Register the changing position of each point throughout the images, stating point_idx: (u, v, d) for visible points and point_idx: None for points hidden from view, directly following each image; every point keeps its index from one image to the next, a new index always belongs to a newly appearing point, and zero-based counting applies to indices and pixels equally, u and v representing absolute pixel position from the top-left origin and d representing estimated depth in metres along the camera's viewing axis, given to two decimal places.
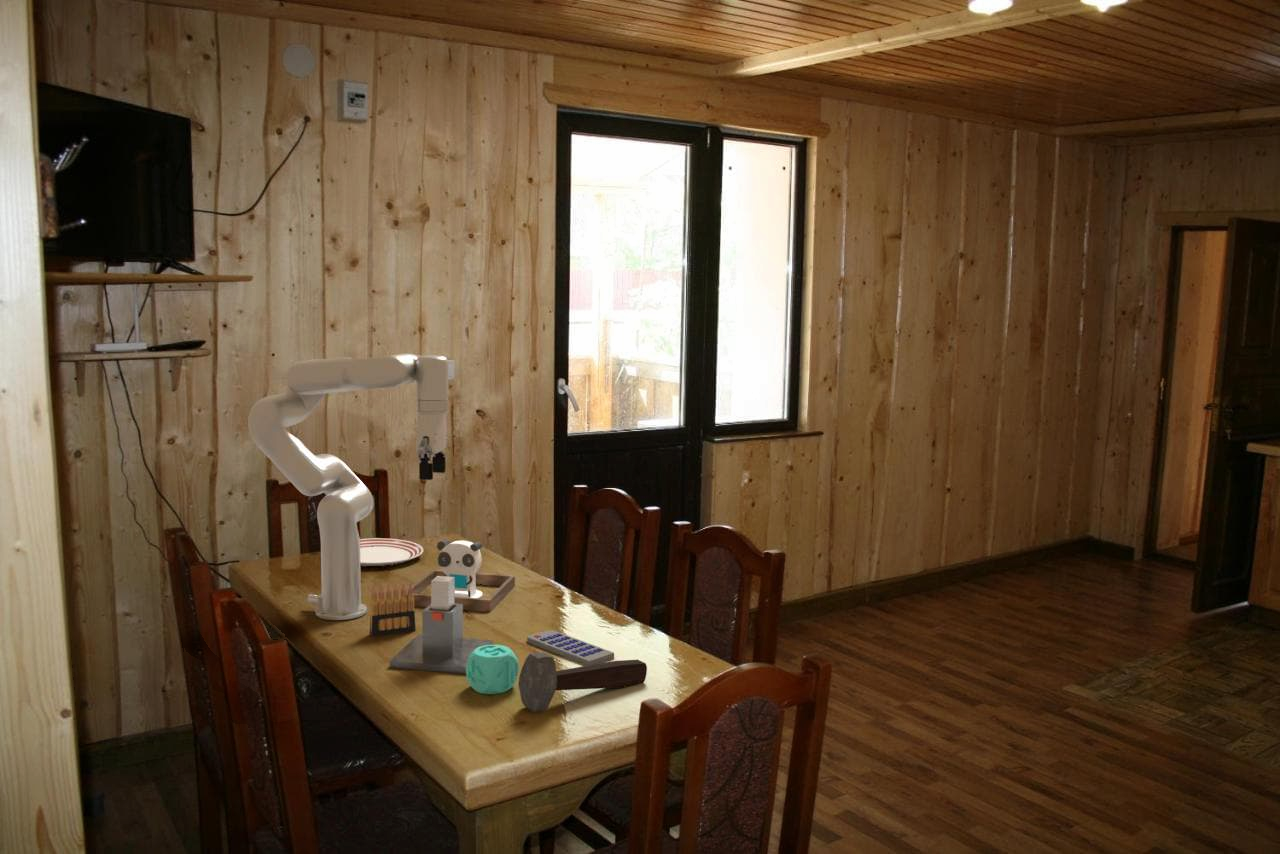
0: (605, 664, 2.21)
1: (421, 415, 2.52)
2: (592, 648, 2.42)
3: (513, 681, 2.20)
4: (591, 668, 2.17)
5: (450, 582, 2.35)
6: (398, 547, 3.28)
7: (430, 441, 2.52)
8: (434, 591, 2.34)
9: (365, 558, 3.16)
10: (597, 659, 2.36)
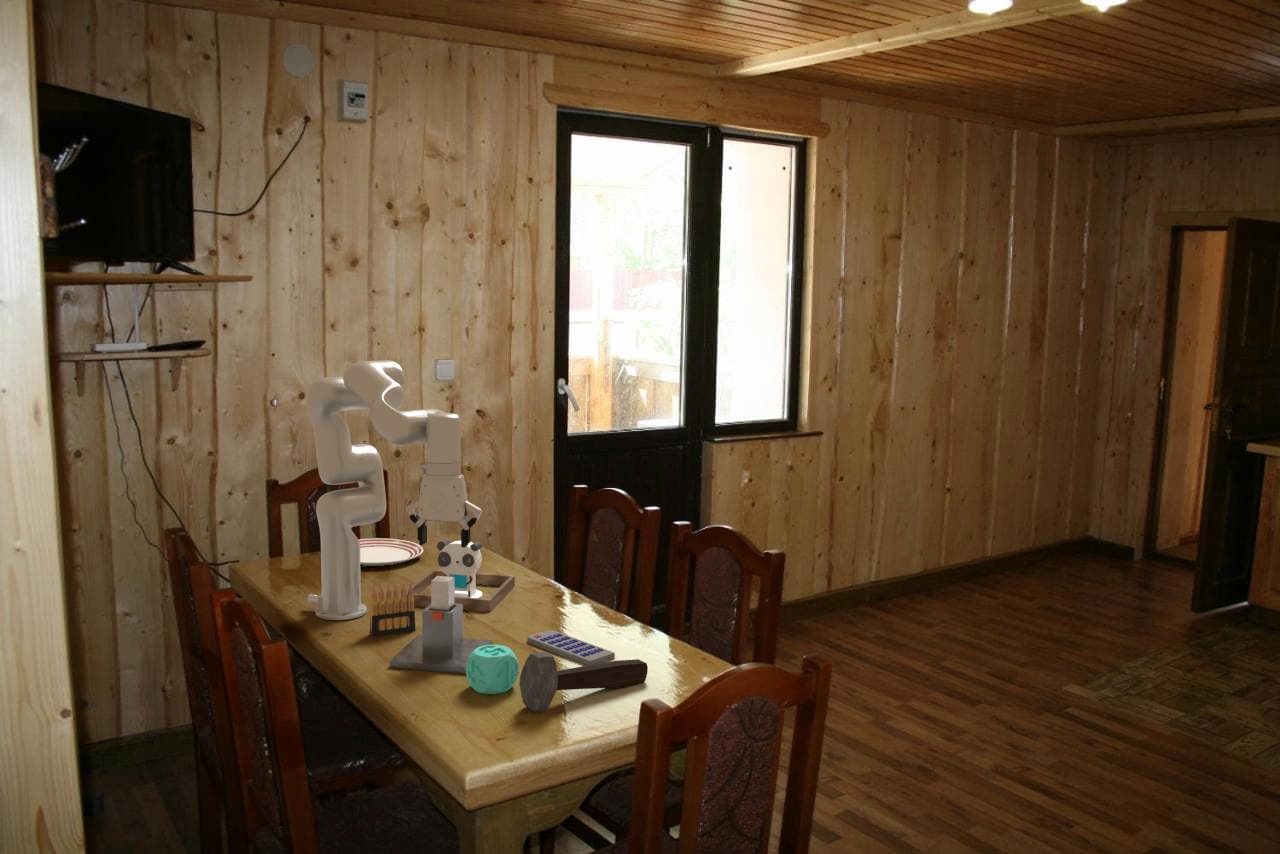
0: (606, 664, 2.21)
1: (461, 478, 2.30)
2: (592, 648, 2.42)
3: (513, 681, 2.20)
4: (592, 668, 2.18)
5: (450, 582, 2.35)
6: (398, 547, 3.28)
7: None
8: (434, 591, 2.34)
9: (365, 558, 3.16)
10: (598, 659, 2.36)
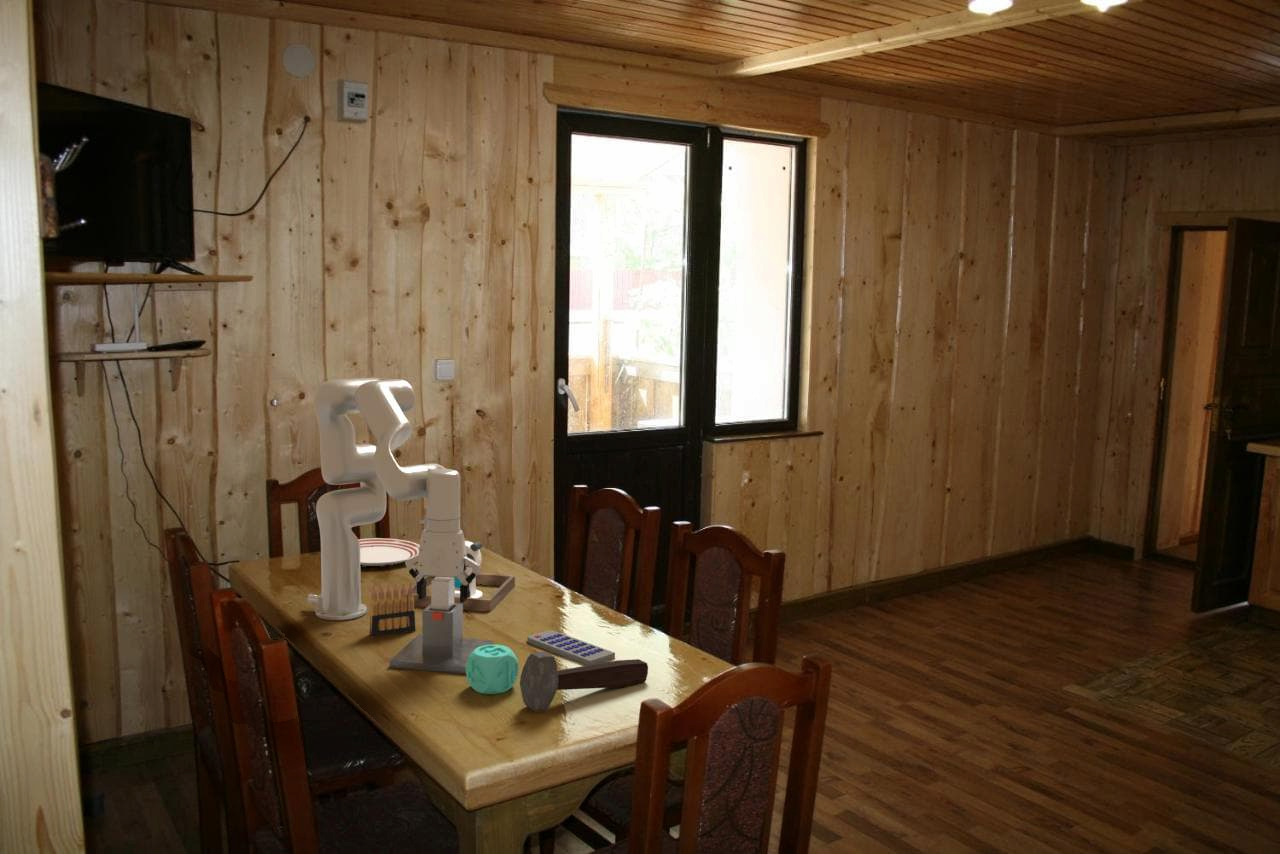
0: (606, 664, 2.21)
1: (460, 534, 2.32)
2: (593, 648, 2.42)
3: (513, 681, 2.20)
4: (592, 668, 2.18)
5: (450, 582, 2.35)
6: (398, 547, 3.28)
7: None
8: (434, 591, 2.34)
9: (365, 558, 3.16)
10: (598, 659, 2.36)
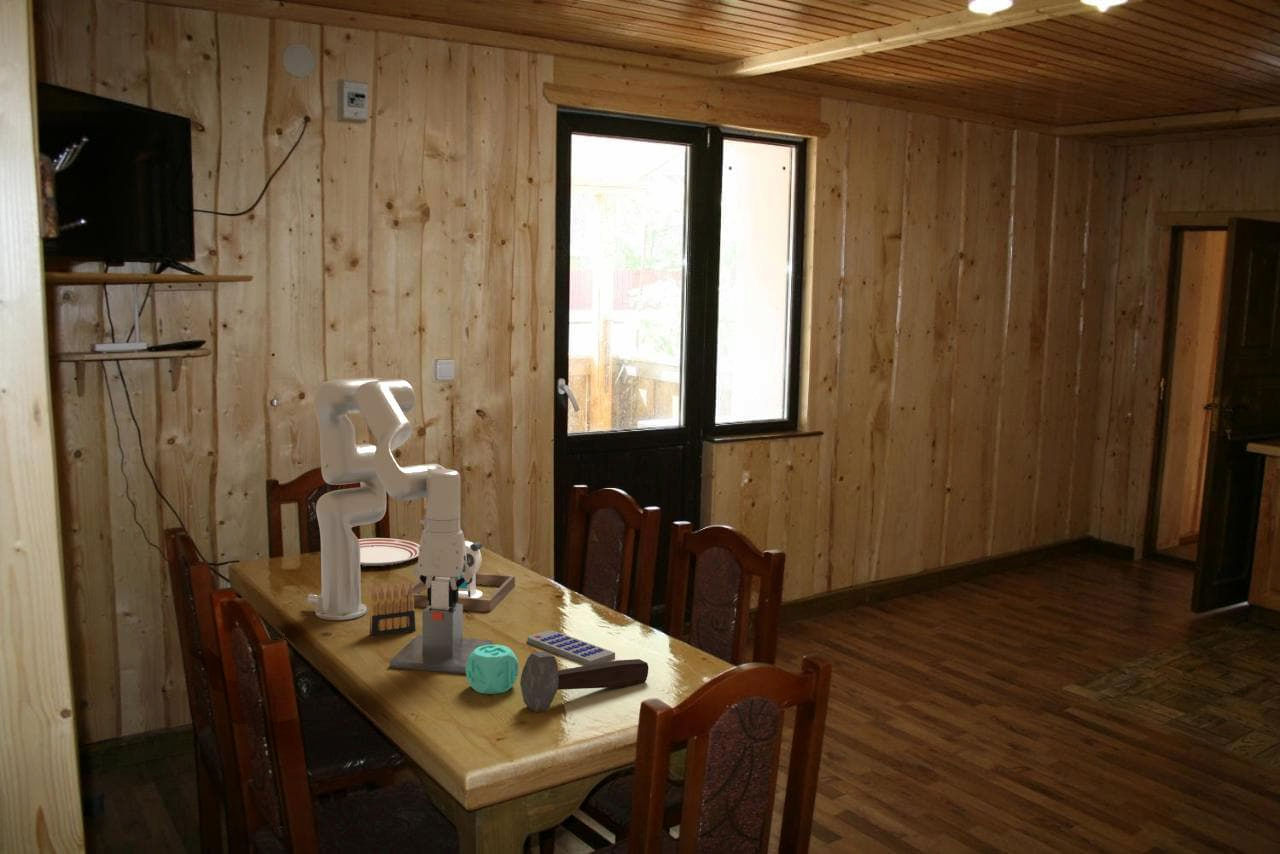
0: (607, 663, 2.21)
1: (460, 535, 2.32)
2: (593, 648, 2.42)
3: (513, 681, 2.20)
4: (593, 667, 2.18)
5: (450, 582, 2.35)
6: (398, 547, 3.28)
7: (466, 559, 2.35)
8: (434, 591, 2.34)
9: (365, 558, 3.16)
10: (598, 659, 2.36)
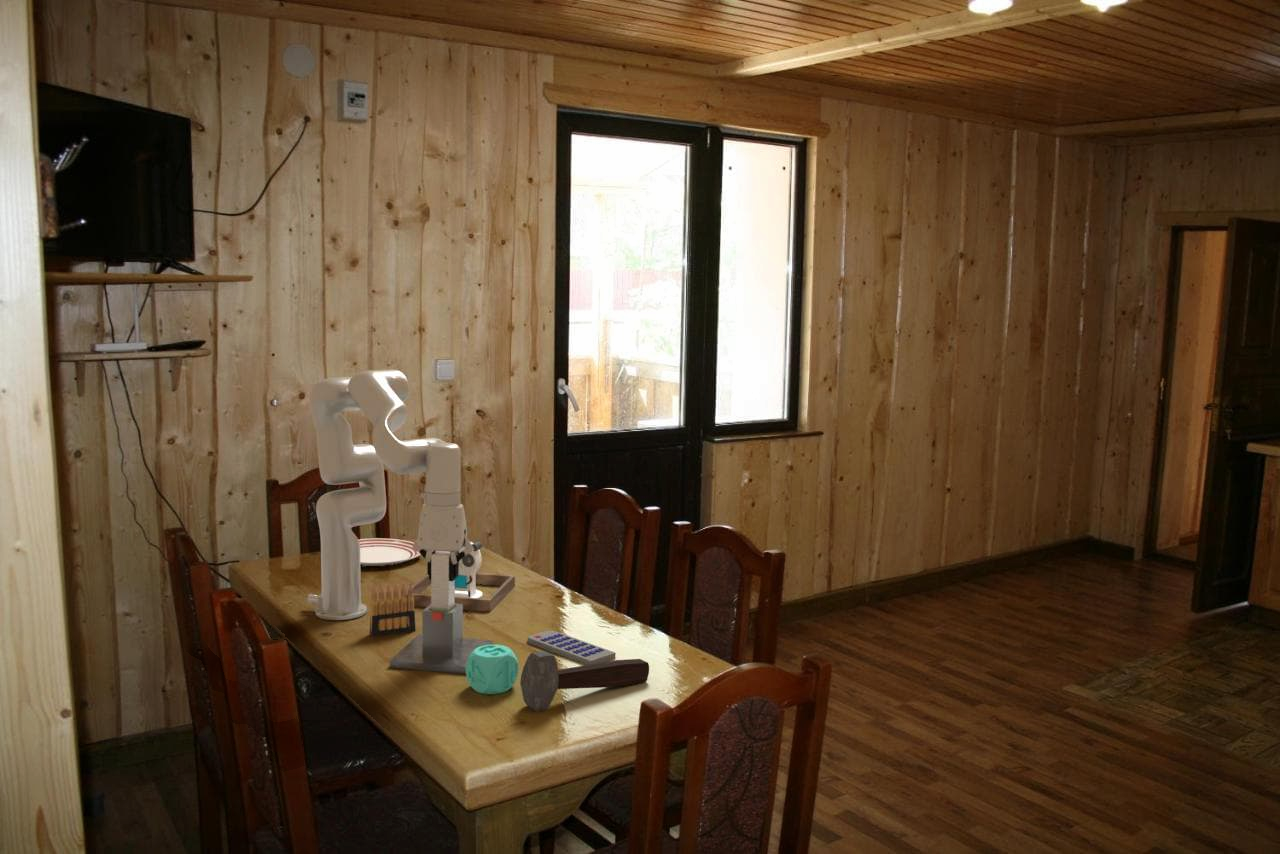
0: (607, 663, 2.21)
1: (460, 508, 2.31)
2: (593, 648, 2.42)
3: (513, 681, 2.20)
4: (593, 667, 2.18)
5: (450, 556, 2.34)
6: (398, 547, 3.28)
7: (466, 533, 2.35)
8: (434, 565, 2.33)
9: (365, 558, 3.16)
10: (599, 659, 2.36)
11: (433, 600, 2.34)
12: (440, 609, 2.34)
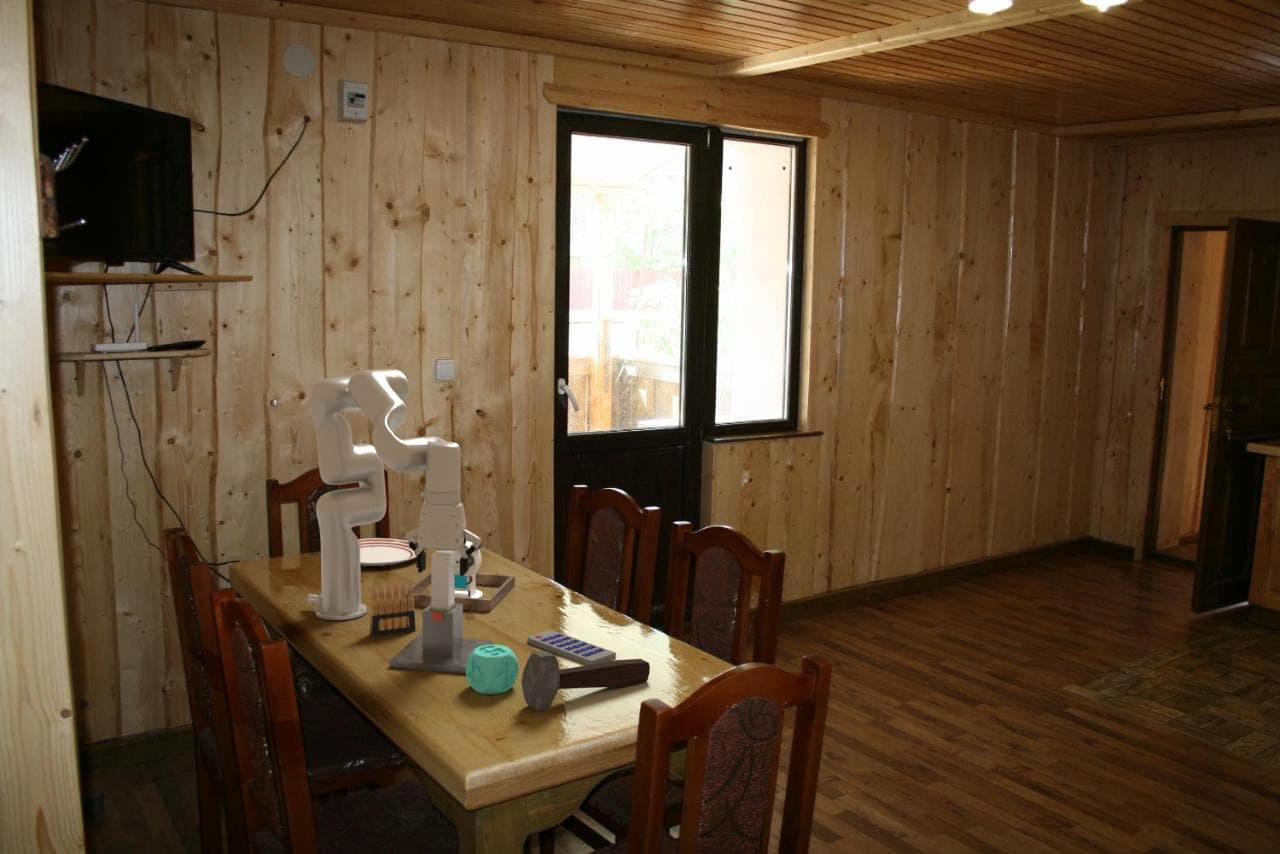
0: (608, 663, 2.21)
1: (460, 507, 2.31)
2: (593, 648, 2.42)
3: (513, 681, 2.20)
4: (594, 667, 2.18)
5: (450, 556, 2.34)
6: (398, 547, 3.28)
7: None
8: (434, 565, 2.33)
9: (365, 558, 3.16)
10: (599, 659, 2.36)
11: (433, 600, 2.34)
12: (440, 609, 2.34)
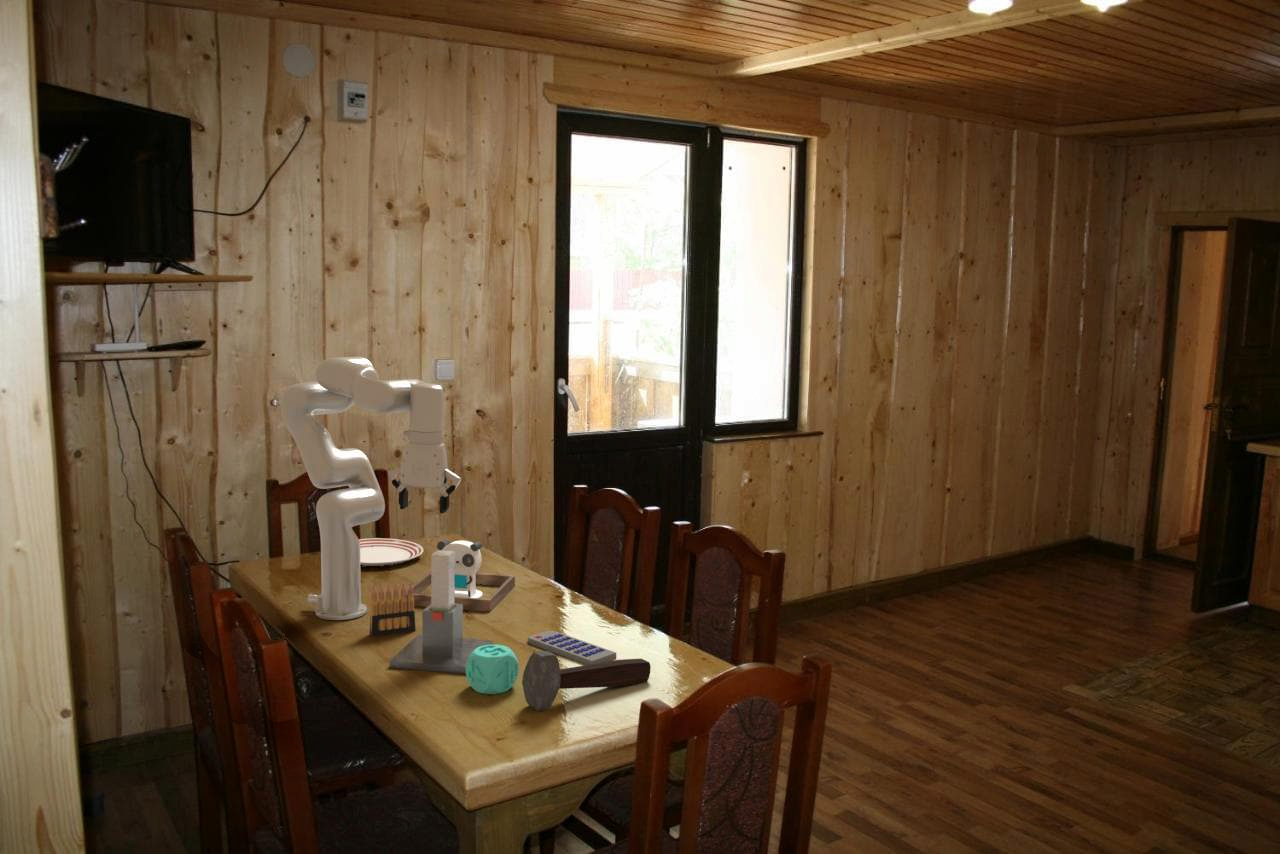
0: (609, 663, 2.22)
1: (442, 447, 2.40)
2: (594, 648, 2.42)
3: (513, 681, 2.20)
4: (595, 667, 2.18)
5: (450, 556, 2.34)
6: (398, 547, 3.28)
7: None
8: (434, 565, 2.33)
9: (365, 558, 3.16)
10: (600, 659, 2.36)
11: (433, 600, 2.34)
12: (440, 609, 2.34)
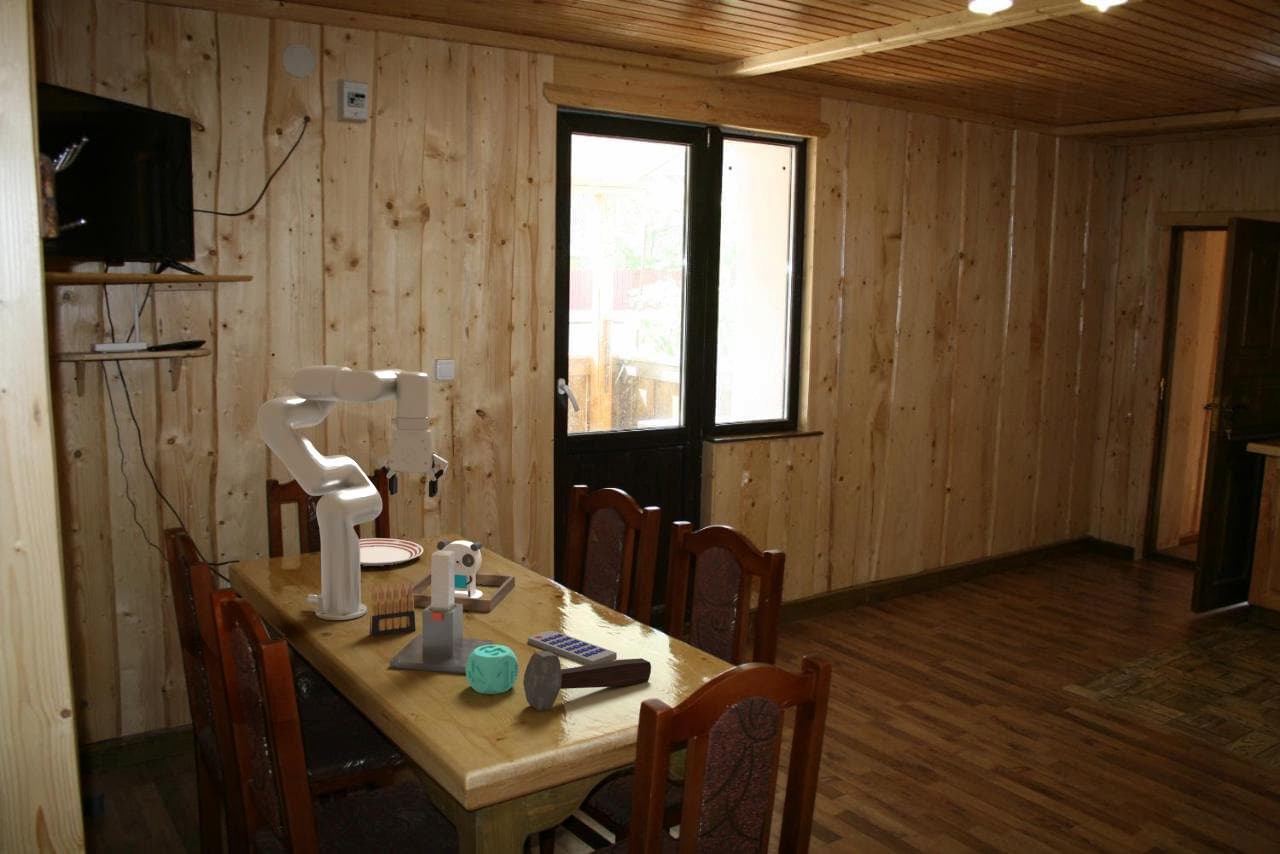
0: (609, 663, 2.22)
1: (429, 432, 2.47)
2: (594, 648, 2.42)
3: (513, 681, 2.20)
4: (595, 667, 2.18)
5: (450, 556, 2.34)
6: (398, 547, 3.28)
7: None
8: (434, 565, 2.33)
9: (365, 558, 3.16)
10: (600, 659, 2.36)
11: (433, 600, 2.34)
12: (440, 609, 2.34)
